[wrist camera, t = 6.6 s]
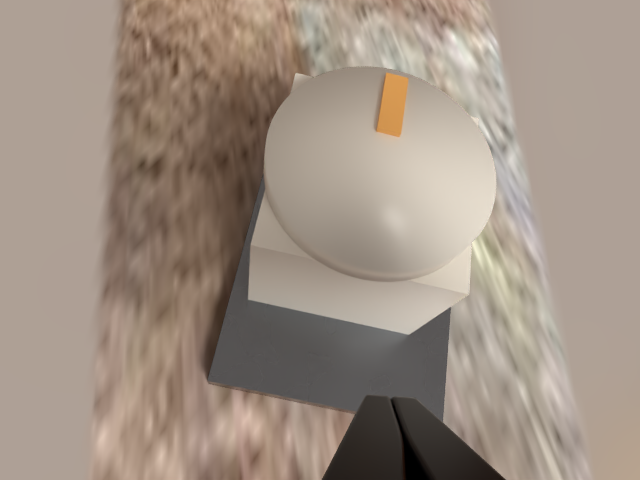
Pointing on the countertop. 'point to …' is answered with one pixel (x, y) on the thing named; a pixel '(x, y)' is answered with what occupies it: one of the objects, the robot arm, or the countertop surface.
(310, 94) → the knob
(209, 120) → the countertop surface
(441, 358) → the plate
